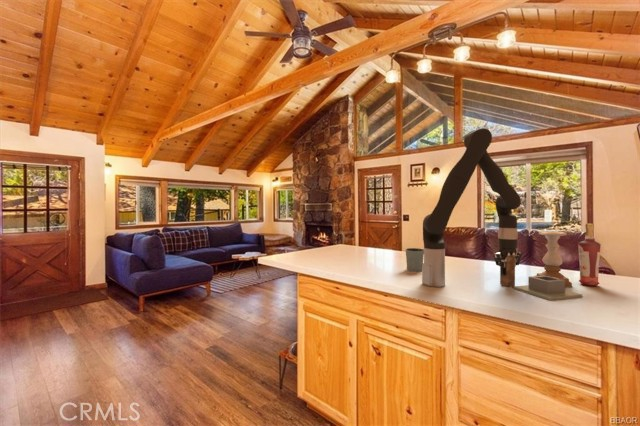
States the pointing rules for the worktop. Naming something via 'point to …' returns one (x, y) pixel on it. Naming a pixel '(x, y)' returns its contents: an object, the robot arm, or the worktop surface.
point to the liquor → (589, 258)
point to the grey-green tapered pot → (414, 259)
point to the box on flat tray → (547, 288)
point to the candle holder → (553, 257)
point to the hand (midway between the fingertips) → (507, 274)
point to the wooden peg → (509, 272)
